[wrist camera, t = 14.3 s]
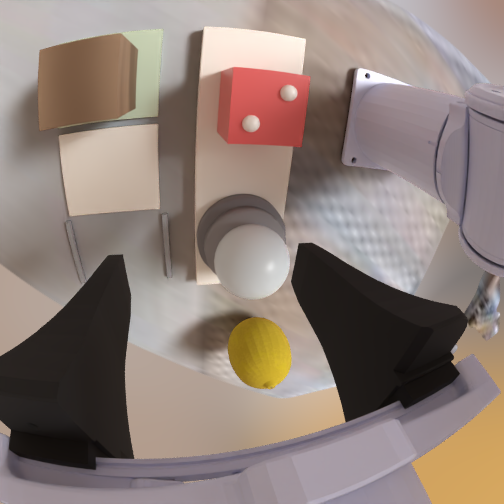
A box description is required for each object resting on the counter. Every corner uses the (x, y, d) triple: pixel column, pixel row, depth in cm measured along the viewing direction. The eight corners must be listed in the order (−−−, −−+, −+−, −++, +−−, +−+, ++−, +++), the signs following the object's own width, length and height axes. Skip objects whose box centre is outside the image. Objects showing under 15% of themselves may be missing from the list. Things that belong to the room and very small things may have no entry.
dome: (286, 205, 20) (316, 240, 16) (276, 271, 23) (298, 313, 19) (204, 207, 18) (214, 246, 14) (204, 277, 21) (213, 324, 17)
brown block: (138, 49, 13) (121, 33, 8) (135, 108, 15) (117, 118, 10) (78, 58, 12) (39, 50, 7) (77, 115, 14) (39, 131, 9)
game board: (299, 40, 15) (312, 37, 14) (270, 271, 25) (277, 285, 24) (54, 46, 11) (42, 43, 9) (83, 284, 21) (78, 300, 20)
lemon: (216, 308, 26) (233, 380, 20) (273, 294, 27) (304, 360, 21) (226, 343, 29) (243, 408, 23) (276, 330, 30) (302, 392, 24)
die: (283, 76, 16) (314, 76, 12) (277, 134, 18) (304, 149, 14) (221, 71, 15) (235, 66, 11) (216, 131, 17) (229, 145, 13)
